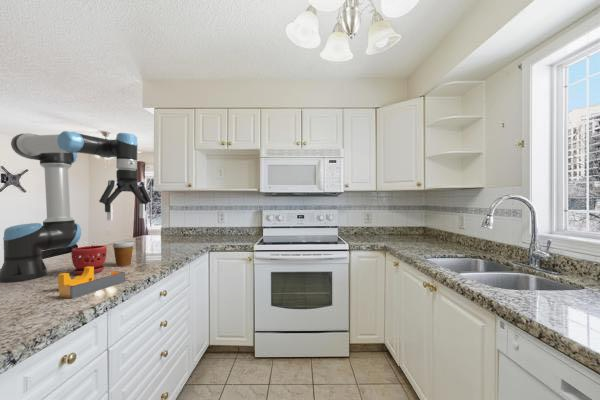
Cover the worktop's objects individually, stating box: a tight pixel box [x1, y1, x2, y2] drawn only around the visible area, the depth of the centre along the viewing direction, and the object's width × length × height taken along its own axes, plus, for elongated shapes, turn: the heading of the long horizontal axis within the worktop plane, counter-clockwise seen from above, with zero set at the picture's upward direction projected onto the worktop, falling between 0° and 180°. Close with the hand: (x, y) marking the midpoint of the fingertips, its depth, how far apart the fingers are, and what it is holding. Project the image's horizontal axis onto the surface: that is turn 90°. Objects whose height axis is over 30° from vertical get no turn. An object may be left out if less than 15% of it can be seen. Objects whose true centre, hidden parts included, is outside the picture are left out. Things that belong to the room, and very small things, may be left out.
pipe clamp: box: [57, 266, 95, 292], centre depth 108 cm, size 12×4×6 cm, turn 169°
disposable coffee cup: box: [112, 240, 135, 268], centre depth 141 cm, size 10×10×12 cm
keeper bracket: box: [59, 270, 126, 299], centre depth 105 cm, size 7×20×4 cm, turn 162°
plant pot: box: [71, 245, 107, 275], centre depth 128 cm, size 13×13×12 cm
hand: (126, 219), depth 117 cm, fingers open, 13 cm apart
